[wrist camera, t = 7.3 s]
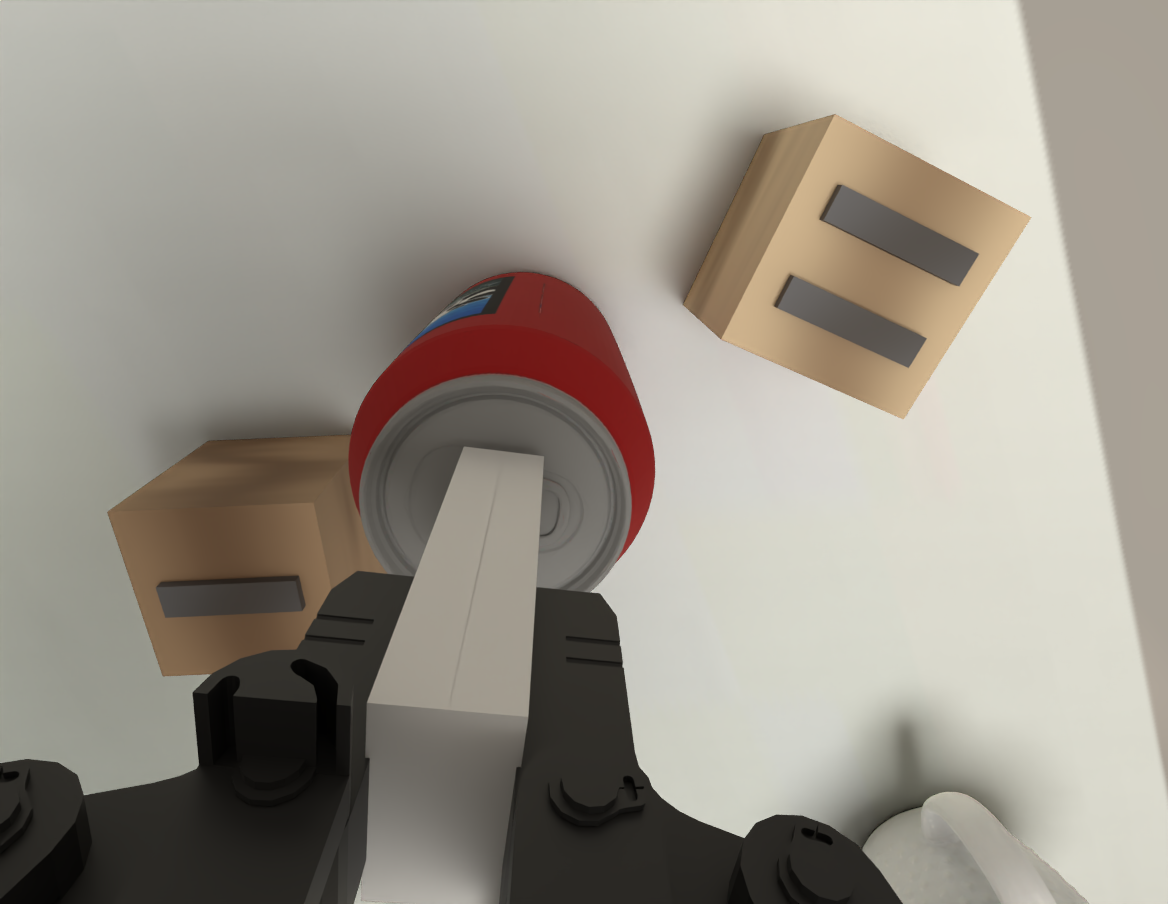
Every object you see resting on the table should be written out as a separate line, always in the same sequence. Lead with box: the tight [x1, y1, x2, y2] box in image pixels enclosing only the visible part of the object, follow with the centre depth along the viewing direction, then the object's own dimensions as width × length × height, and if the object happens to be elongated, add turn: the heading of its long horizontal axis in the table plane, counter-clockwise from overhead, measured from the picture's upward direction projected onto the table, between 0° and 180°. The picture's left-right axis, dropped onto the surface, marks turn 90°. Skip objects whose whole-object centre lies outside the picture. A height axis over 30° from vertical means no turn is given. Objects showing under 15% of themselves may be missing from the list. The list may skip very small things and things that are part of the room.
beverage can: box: [348, 272, 655, 593], centre depth 18 cm, size 7×7×12 cm
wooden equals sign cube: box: [683, 114, 1031, 419], centre depth 20 cm, size 6×6×6 cm
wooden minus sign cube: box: [107, 435, 388, 676], centre depth 23 cm, size 6×6×6 cm
